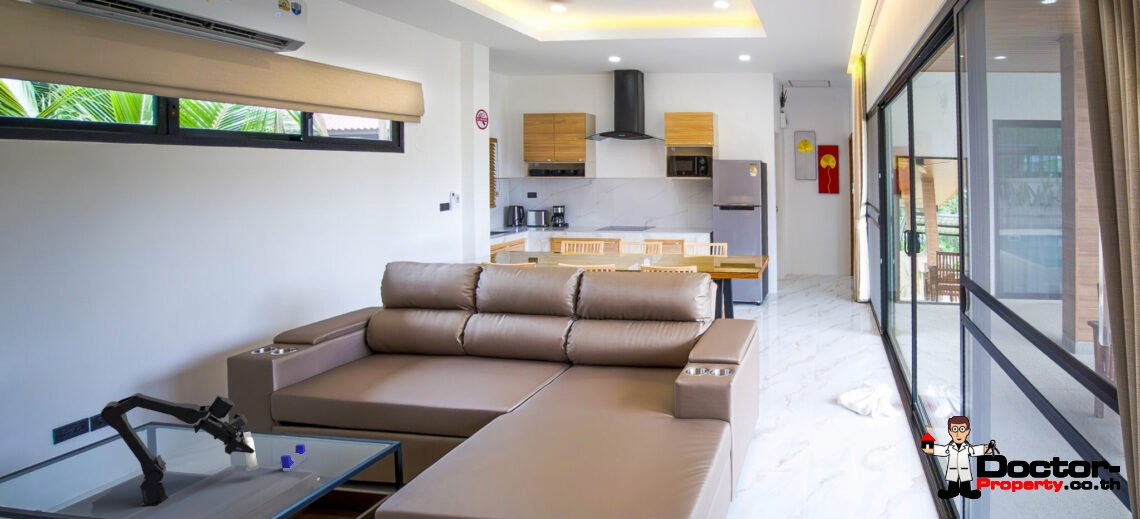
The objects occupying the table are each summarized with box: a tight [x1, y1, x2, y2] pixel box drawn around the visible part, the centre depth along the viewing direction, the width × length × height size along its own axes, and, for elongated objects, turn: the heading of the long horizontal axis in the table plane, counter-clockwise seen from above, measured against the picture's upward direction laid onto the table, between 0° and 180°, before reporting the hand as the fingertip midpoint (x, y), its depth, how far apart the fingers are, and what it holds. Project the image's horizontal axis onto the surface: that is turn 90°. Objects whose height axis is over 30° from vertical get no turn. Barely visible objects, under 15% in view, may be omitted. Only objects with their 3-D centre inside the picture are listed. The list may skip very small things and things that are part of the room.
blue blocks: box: [280, 444, 306, 470], centre depth 297 cm, size 12×4×6 cm, turn 169°
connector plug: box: [243, 431, 260, 472], centre depth 286 cm, size 4×4×14 cm
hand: (253, 450), depth 286 cm, fingers closed on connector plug, 3 cm apart
